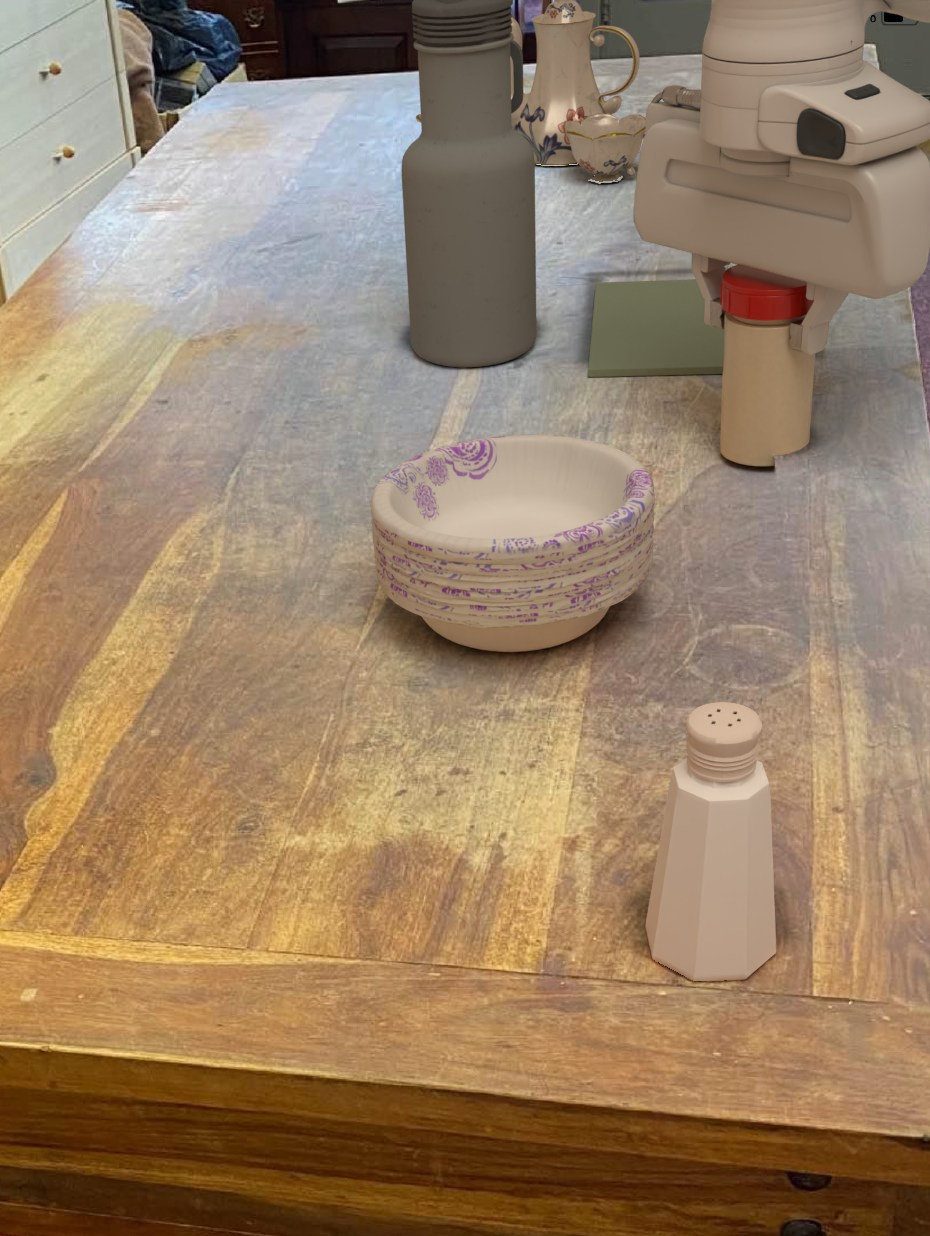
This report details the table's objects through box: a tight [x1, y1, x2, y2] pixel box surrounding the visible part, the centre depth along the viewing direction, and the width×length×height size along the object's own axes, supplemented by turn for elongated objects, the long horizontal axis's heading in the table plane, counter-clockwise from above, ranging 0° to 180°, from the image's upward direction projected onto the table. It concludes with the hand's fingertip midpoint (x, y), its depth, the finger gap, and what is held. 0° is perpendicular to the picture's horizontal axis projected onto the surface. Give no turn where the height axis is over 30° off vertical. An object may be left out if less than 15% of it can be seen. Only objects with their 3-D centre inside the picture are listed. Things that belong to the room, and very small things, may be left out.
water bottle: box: [401, 0, 538, 368], centre depth 119 cm, size 10×10×28 cm
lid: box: [720, 264, 814, 321], centre depth 99 cm, size 6×6×2 cm
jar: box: [719, 312, 816, 467], centre depth 102 cm, size 6×6×11 cm
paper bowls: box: [369, 434, 656, 653], centre depth 89 cm, size 15×15×8 cm
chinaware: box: [415, 0, 646, 182], centre depth 165 cm, size 28×17×17 cm, turn 58°
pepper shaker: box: [644, 701, 777, 982], centre depth 64 cm, size 5×5×11 cm
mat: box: [587, 278, 724, 378], centre depth 126 cm, size 16×20×1 cm
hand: (764, 337), depth 101 cm, fingers closed on jar, 5 cm apart
